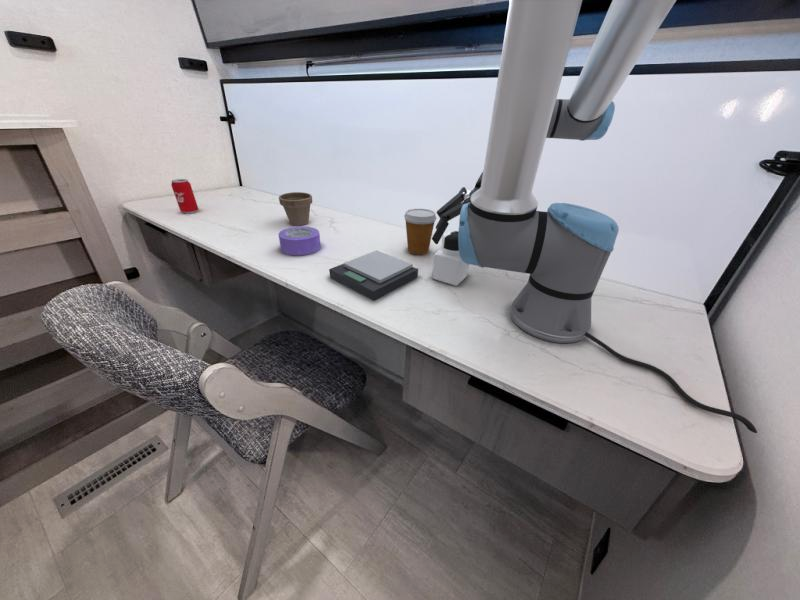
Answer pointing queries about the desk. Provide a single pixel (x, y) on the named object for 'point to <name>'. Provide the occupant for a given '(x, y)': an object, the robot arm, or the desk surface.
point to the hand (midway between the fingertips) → (456, 248)
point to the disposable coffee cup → (419, 230)
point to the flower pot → (296, 207)
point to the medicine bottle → (449, 261)
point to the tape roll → (299, 240)
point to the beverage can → (184, 195)
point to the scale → (374, 274)
